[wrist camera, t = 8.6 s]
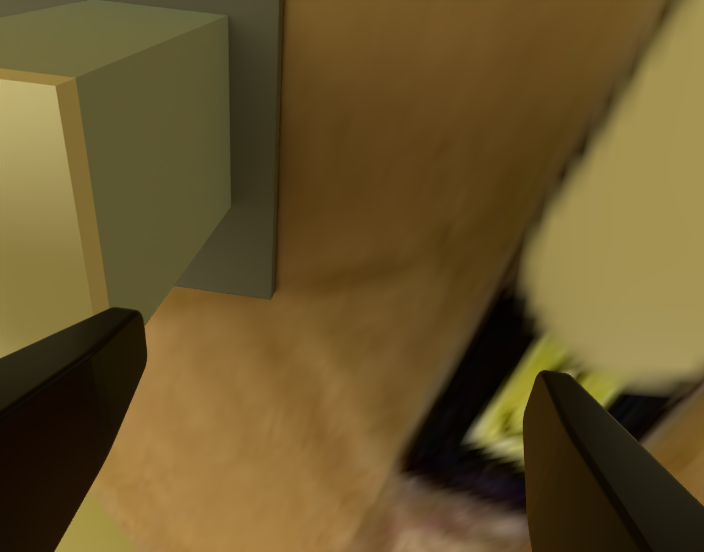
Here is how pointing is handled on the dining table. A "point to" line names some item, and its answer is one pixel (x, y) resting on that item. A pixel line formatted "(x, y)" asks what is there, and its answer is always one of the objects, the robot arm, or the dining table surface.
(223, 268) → the mat
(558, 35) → the dining table surface
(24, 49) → the pale green block
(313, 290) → the dining table surface
